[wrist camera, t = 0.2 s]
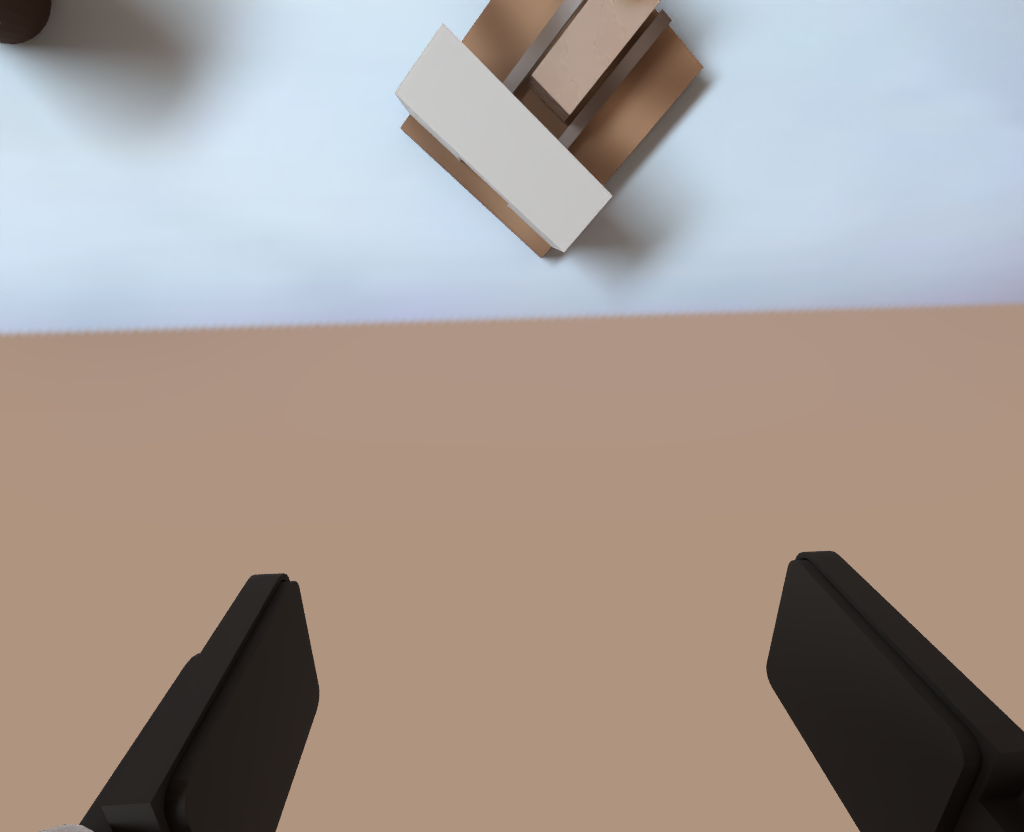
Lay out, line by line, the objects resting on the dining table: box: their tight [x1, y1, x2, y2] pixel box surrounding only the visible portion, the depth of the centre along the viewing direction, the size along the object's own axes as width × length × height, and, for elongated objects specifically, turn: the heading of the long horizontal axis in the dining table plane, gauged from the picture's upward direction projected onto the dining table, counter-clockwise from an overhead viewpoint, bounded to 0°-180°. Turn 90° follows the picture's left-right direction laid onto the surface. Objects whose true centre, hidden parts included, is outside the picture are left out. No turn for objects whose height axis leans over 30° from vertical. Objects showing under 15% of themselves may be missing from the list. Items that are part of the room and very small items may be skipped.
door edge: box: [395, 23, 612, 252], centre depth 31 cm, size 4×12×6 cm, turn 49°
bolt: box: [528, 0, 661, 122], centre depth 29 cm, size 8×3×4 cm, turn 139°
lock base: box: [401, 0, 703, 258], centre depth 33 cm, size 15×12×2 cm
